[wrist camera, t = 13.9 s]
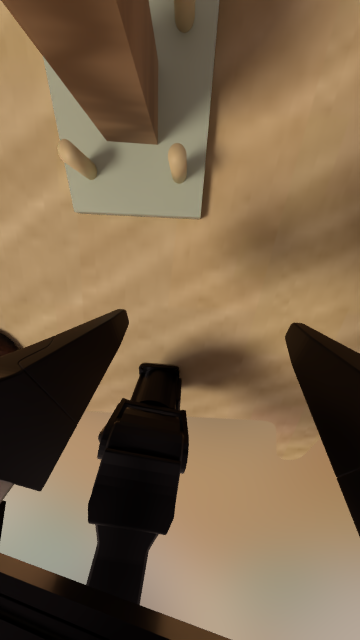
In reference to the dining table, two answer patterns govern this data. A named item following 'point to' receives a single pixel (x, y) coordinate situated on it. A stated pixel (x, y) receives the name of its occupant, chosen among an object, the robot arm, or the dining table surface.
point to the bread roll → (6, 345)
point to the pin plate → (173, 127)
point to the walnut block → (100, 59)
